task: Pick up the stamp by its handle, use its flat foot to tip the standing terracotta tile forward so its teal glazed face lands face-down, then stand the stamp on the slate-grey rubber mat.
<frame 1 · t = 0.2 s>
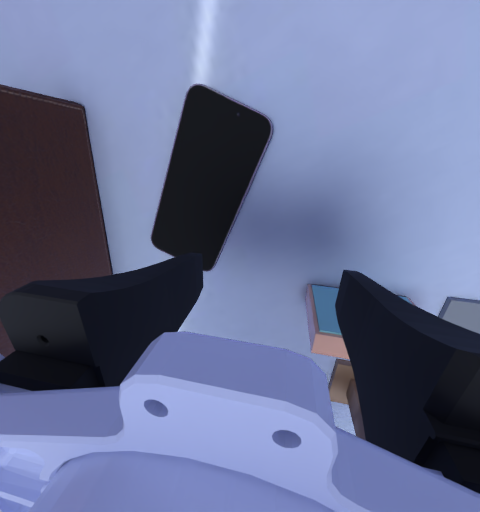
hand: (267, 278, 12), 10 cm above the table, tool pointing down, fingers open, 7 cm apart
letter holder: (65, 209, 25), on the table
smartphone: (206, 191, 21), on the table
tile: (354, 298, 22), on the table
stamp: (358, 381, 26), on the table
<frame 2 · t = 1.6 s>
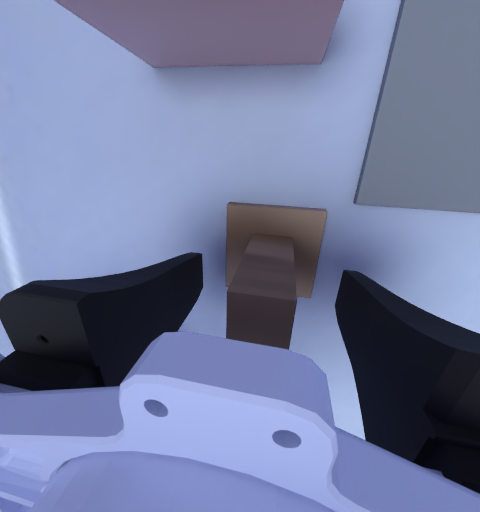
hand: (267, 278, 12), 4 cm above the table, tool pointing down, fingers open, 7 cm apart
mat: (475, 114, 11), on the table
tile: (233, 44, 12), on the table
stamp: (271, 249, 16), on the table
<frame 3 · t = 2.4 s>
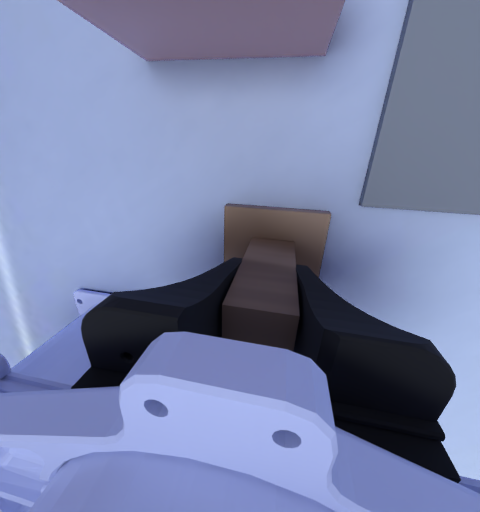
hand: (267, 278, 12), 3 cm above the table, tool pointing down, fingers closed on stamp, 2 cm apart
tile: (230, 35, 11), on the table
stamp: (271, 253, 15), on the table, touching gripper
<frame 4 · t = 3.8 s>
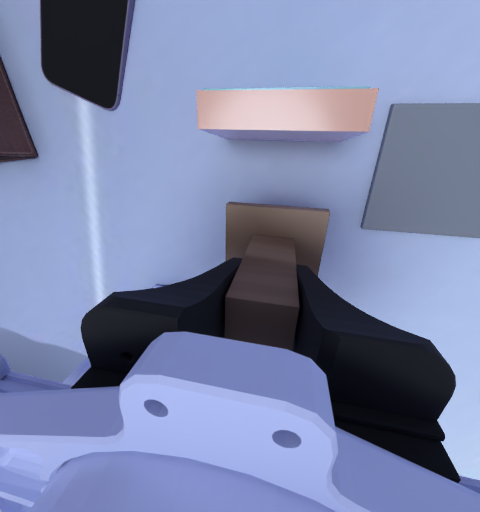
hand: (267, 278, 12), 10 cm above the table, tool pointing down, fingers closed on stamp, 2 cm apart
mat: (437, 174, 17), on the table
tile: (282, 127, 18), on the table
stamp: (272, 250, 15), point 7 cm above the table, touching gripper
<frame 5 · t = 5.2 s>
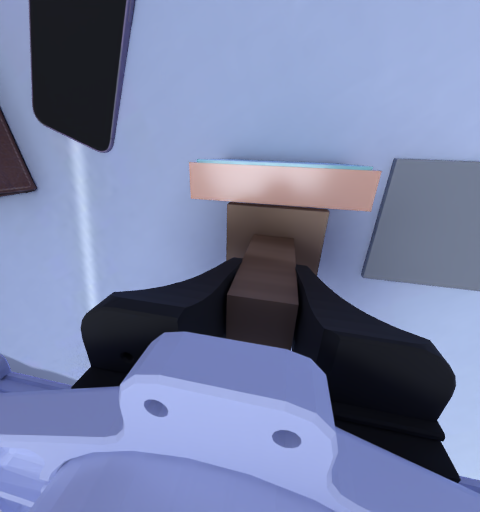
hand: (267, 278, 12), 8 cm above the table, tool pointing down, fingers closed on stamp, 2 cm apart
mat: (442, 228, 17), on the table
smartphone: (88, 33, 17), on the table
tile: (280, 176, 18), on the table
stamp: (272, 250, 15), point 4 cm above the table, touching gripper
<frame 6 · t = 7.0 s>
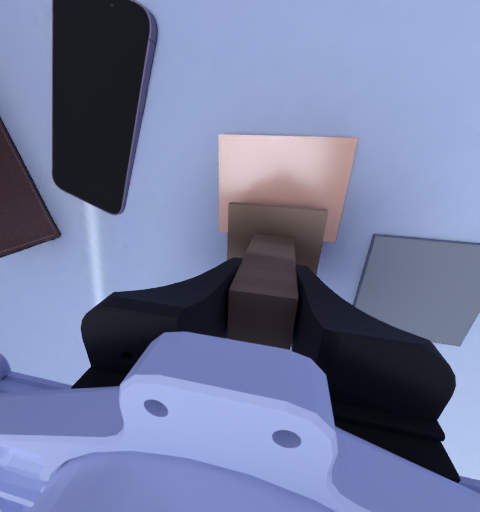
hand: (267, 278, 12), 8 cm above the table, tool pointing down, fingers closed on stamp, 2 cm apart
mat: (417, 291, 19), on the table
smartphone: (103, 117, 19), on the table
tile: (275, 233, 19), point 1 cm above the table, tilted 90°
stamp: (272, 248, 16), point 4 cm above the table, touching gripper
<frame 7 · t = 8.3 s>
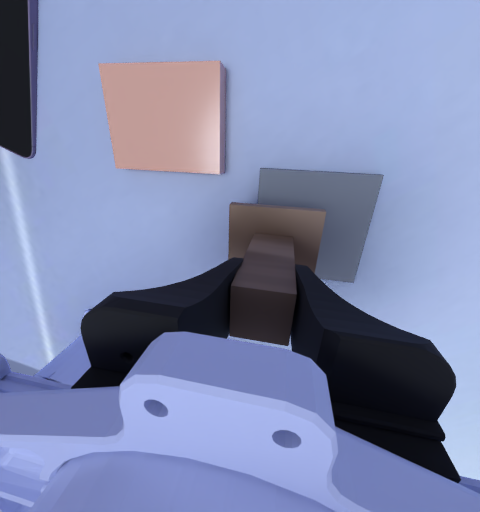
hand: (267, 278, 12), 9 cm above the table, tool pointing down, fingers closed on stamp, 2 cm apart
mat: (309, 227, 20), on the table
smartphone: (6, 56, 19), on the table
tile: (171, 170, 19), point 1 cm above the table, tilted 90°
stamp: (272, 248, 16), point 4 cm above the table, touching gripper
when the fingers open (5 cm above the table, at t = 9.6 s): stamp stays where it is, resting on mat.
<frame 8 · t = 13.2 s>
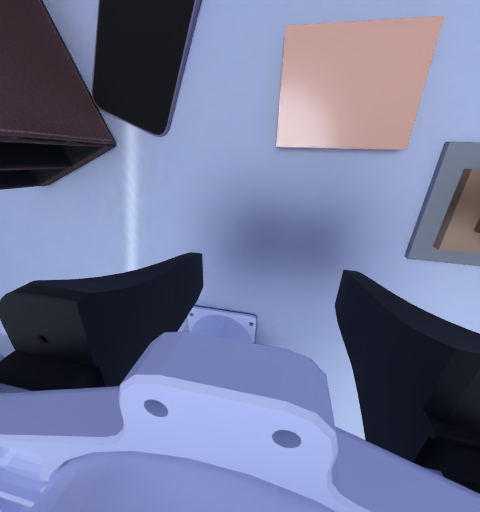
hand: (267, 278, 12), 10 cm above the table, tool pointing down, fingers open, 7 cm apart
letter holder: (19, 55, 20), on the table
smartphone: (152, 20, 18), on the table
tile: (336, 148, 17), point 1 cm above the table, tilted 90°
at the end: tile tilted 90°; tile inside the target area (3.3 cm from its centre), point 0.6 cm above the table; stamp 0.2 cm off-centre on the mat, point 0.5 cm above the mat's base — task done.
